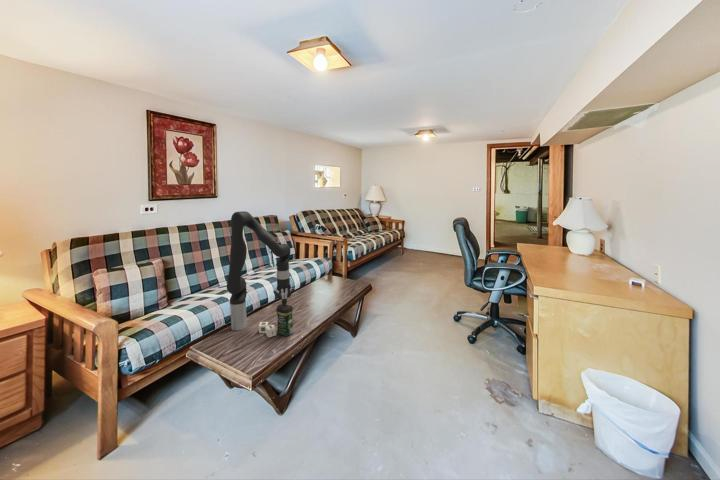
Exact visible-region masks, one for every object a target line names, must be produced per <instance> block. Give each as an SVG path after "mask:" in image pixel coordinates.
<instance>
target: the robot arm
mask: <svg viewBox="0 0 720 480" xmlns="http://www.w3.org/2000/svg"><path fill="white" fill-rule="evenodd" d="M230 227H231V228H230V229H231V230H230V231H231V237H230V238H231V240H230V251H229V267H228V268H229V270H228V276H227V281H226V290H227V292H228V293H229V294H231V295H230V298H229V309H230V326H231V327H230V328H231V331H242V330H245V329H246V328H247V327H248V320H247V317H248V316H247V305H246V300H247V299H246V298H247V281H246V279H245V277H242V271H243V268H244V266H245V263H246V259H247V251H248V249H247V245H246V242H245V239H244V236H243V235H244V227H247V228H249V229H250V230H251V231H253V232H254V234H255V236H256V237H257V238H258V240H259V241H260V242H261V243H263V244H264V245H265V246H266V247H268V249H269V251H270V252H271V253H272V254H273V255H274V256H276V257H277V258H278V260H277V261H276V288H275V289H274V290H273V291H272V292H273V294H274V295H275V296H276V297H277V298H278V299H281V304H283V305H287V304H288V298H291V295H293V294H294V292H295V288H294V287H292V286H291V276H290V275H291V272H290V258H291V247H290V245H289V244H287V243H280V244H279V243H278V238H277V237H275V236H274V235H273V234H272V233H271V232H269V231H268V230H267V229H266V228H264V227H263V226H262V225H261V224H260V222H258V220H257V219H255V217H254V216H253V215H252V214H251V213H250V212H249V211H235V212H233V214H232V215H231V218H230ZM279 293H280V294H279Z"/></svg>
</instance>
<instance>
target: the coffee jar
mask: <svg viewBox="0 0 720 480" xmlns="http://www.w3.org/2000/svg"><path fill="white" fill-rule="evenodd" d="M293 308H294V307H293V306H292V305H290V304H286V305H283V304H282V303H280V304H278V305H277V306H276V315H277V325H276V326H277V327H276V334H278V335H281V336H284V337H288V336H291V335H292V334H293V333H294V323H293V322H294V321H293V313H294V309H293Z"/></svg>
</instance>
